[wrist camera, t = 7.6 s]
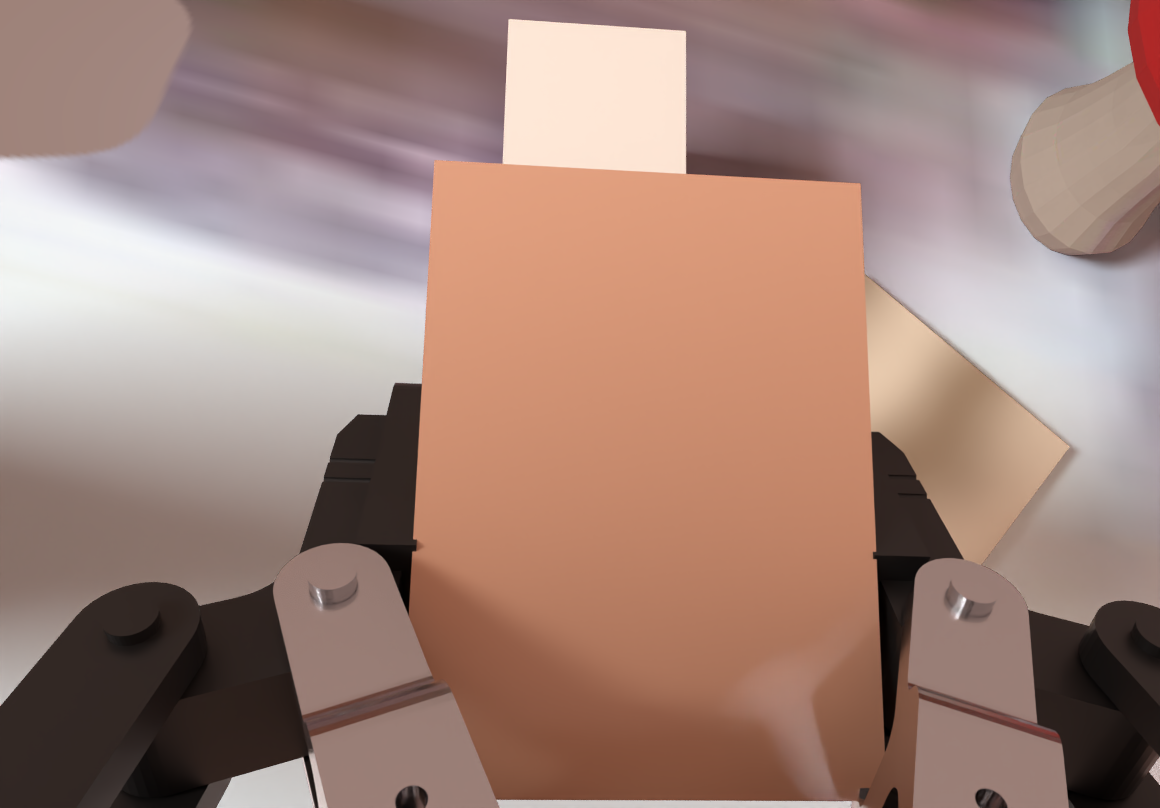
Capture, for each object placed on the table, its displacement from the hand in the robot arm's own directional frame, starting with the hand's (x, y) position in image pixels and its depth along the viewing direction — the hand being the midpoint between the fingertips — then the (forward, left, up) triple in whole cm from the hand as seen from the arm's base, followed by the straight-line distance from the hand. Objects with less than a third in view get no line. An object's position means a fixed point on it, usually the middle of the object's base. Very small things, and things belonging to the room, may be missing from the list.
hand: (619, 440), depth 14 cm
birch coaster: (+7, +9, -18) cm, 22 cm away
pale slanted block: (-7, +8, -18) cm, 21 cm away
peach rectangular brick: (0, -1, -4) cm, 4 cm away
